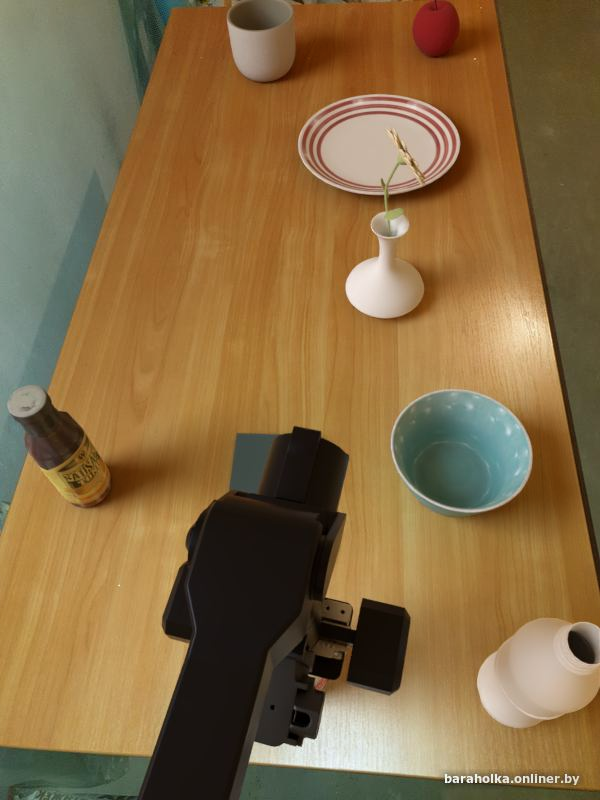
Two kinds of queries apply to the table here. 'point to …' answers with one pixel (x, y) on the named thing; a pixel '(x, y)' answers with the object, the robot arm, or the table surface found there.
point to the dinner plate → (377, 143)
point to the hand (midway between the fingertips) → (292, 644)
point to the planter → (262, 38)
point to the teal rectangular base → (250, 460)
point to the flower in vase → (388, 258)
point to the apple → (436, 27)
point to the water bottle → (541, 672)
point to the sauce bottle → (60, 447)
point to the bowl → (461, 452)
